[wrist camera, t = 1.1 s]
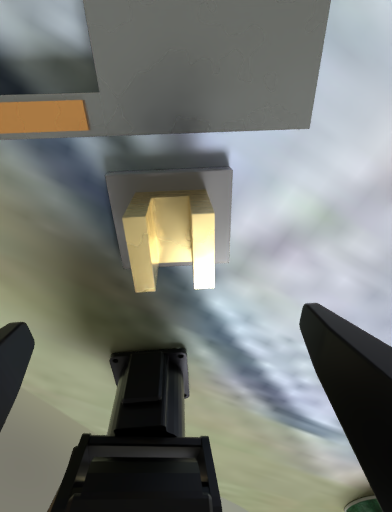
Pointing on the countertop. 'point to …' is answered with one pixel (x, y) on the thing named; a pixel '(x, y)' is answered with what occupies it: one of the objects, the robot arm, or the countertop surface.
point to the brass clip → (170, 235)
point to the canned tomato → (364, 505)
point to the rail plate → (185, 70)
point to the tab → (211, 179)
